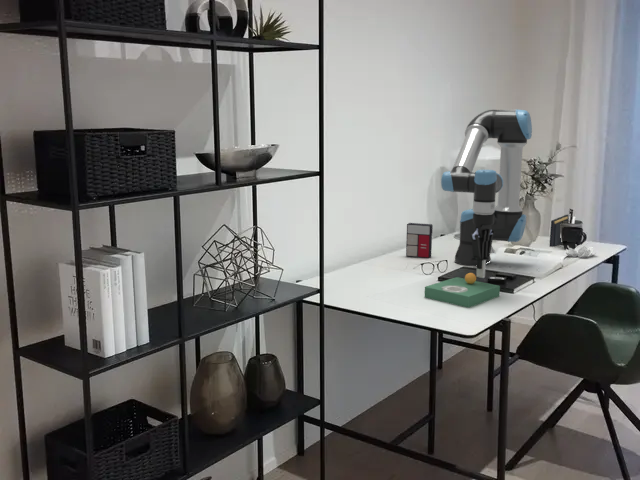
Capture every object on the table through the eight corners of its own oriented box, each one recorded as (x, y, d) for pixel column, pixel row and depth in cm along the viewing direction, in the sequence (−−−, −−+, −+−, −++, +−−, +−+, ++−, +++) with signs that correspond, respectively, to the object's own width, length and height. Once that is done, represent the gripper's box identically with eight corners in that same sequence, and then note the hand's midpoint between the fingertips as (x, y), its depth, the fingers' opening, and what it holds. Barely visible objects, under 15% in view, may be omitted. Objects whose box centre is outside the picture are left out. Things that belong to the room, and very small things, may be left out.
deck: (424, 297, 235) (424, 286, 234) (456, 287, 248) (456, 276, 248) (468, 308, 222) (468, 296, 221) (499, 296, 236) (499, 285, 235)
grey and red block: (405, 256, 301) (406, 224, 298) (408, 254, 305) (408, 222, 302) (429, 258, 296) (430, 225, 294) (431, 256, 300) (432, 224, 298)
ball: (462, 283, 238) (462, 272, 237) (468, 281, 241) (469, 271, 240) (472, 285, 235) (472, 274, 234) (478, 283, 238) (478, 272, 237)
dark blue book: (552, 251, 313) (555, 219, 310) (548, 250, 314) (551, 219, 311) (568, 245, 328) (571, 214, 325) (564, 244, 329) (567, 214, 326)
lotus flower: (598, 266, 283) (599, 246, 281) (560, 263, 288) (562, 243, 287) (597, 259, 296) (599, 240, 294) (562, 256, 301) (563, 238, 300)
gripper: (483, 216, 231) (480, 282, 235) (502, 212, 240) (499, 275, 244) (464, 213, 236) (461, 278, 240) (484, 210, 245) (481, 272, 250)
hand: (480, 276), depth 242 cm, fingers closed
